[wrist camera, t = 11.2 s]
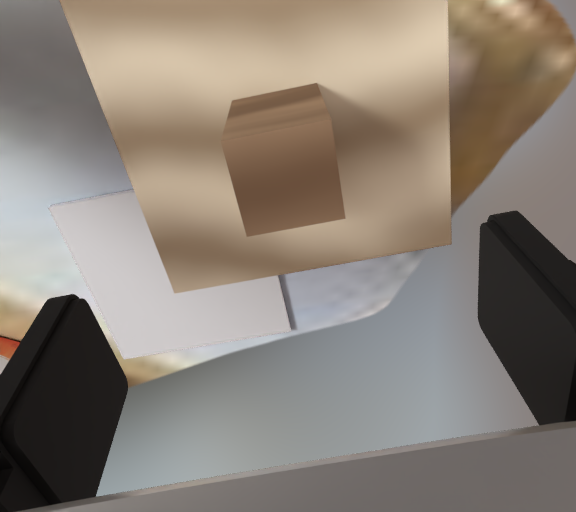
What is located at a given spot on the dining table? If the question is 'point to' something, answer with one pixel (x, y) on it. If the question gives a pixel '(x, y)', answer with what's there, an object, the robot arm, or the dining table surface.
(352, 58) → the lid
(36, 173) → the dining table surface
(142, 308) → the mat
